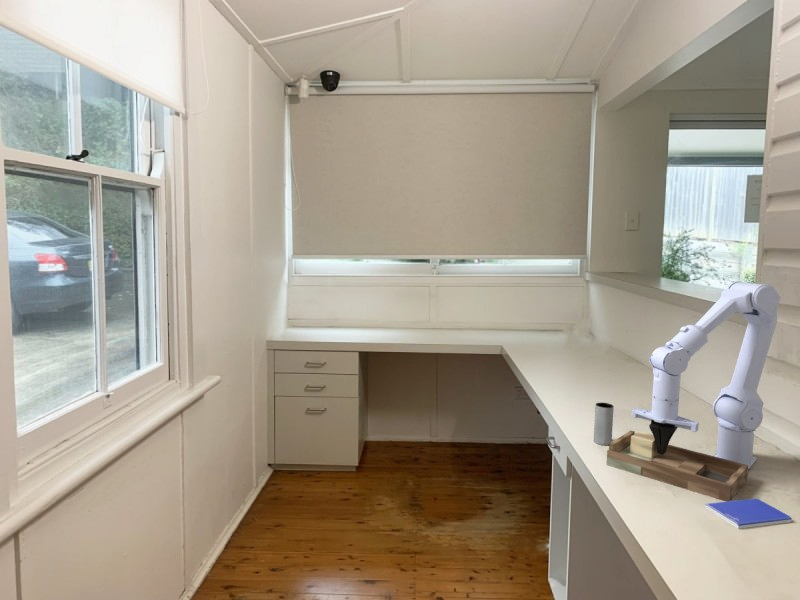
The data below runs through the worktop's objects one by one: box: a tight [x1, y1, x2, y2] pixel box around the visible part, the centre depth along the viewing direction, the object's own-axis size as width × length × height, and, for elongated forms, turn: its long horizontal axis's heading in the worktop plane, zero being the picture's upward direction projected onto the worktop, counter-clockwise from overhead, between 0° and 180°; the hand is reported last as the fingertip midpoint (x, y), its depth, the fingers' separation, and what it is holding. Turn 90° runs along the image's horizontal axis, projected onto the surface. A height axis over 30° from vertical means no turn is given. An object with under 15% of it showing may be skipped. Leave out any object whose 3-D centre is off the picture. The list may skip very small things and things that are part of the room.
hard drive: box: [704, 498, 793, 530], centre depth 106 cm, size 2×8×12 cm
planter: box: [593, 402, 615, 446], centre depth 143 cm, size 4×4×10 cm
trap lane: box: [605, 430, 749, 502], centre depth 125 cm, size 15×26×5 cm, turn 45°
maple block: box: [630, 431, 658, 458], centre depth 132 cm, size 5×5×4 cm
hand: (661, 452), depth 129 cm, fingers closed
